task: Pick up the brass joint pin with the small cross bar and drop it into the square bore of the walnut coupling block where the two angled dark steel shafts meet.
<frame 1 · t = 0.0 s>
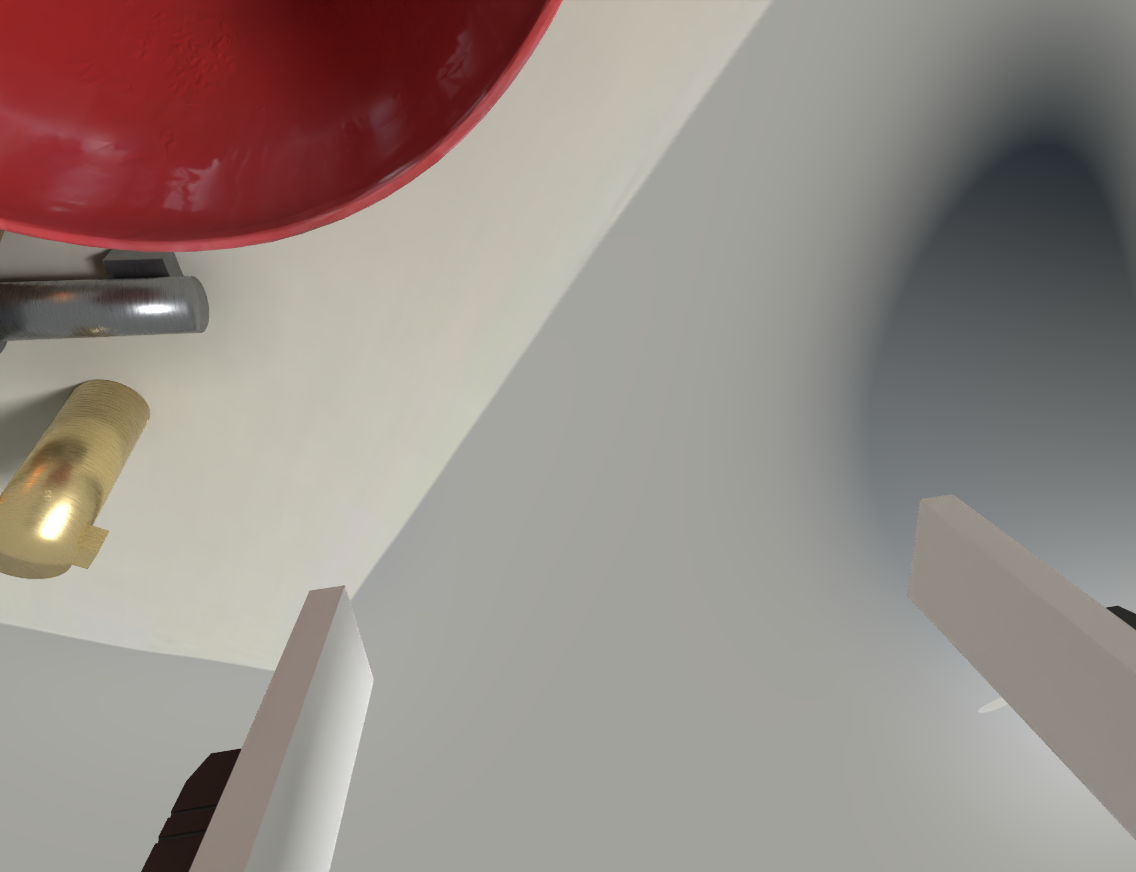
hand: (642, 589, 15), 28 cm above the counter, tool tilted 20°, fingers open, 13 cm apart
joint pin: (111, 406, 42), on the counter
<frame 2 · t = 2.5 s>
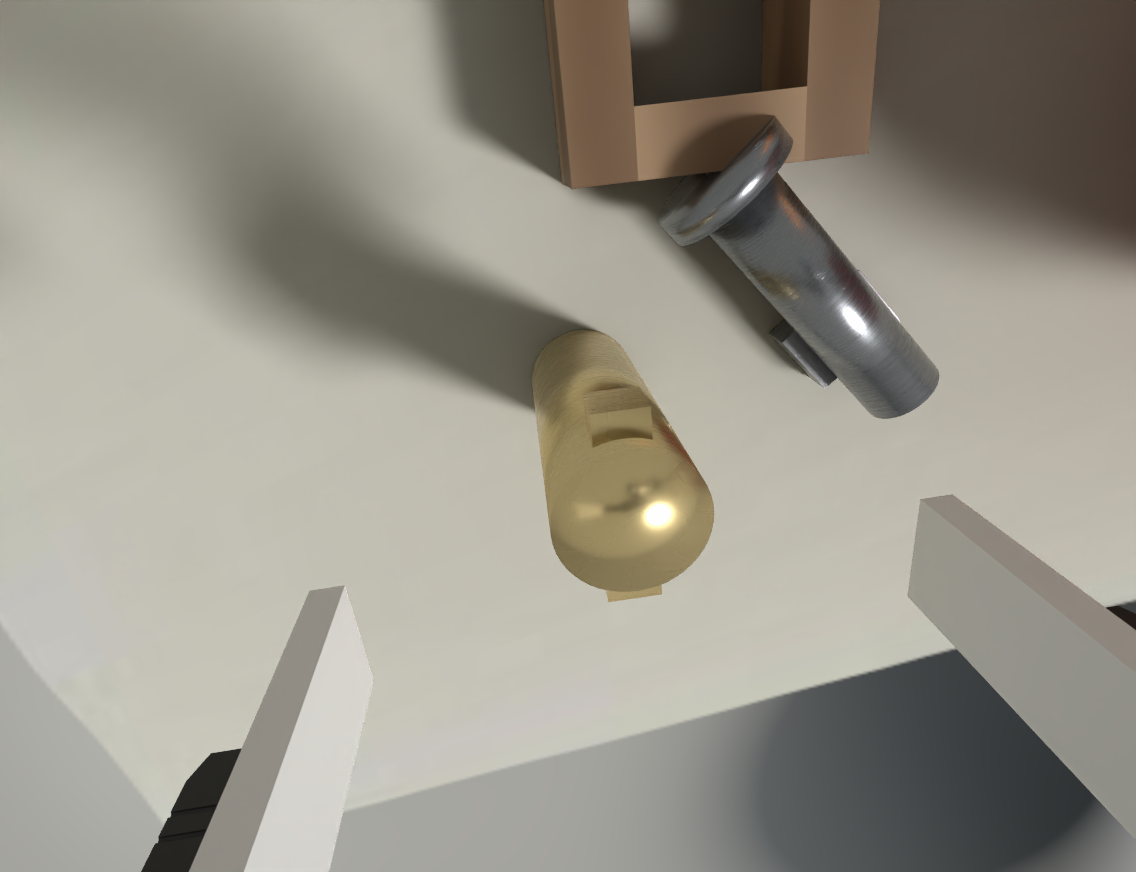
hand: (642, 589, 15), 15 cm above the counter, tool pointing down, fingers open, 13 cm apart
coupling block: (685, 17, 23), on the counter
joint pin: (582, 379, 28), on the counter
shaft b: (689, 168, 25), on the counter
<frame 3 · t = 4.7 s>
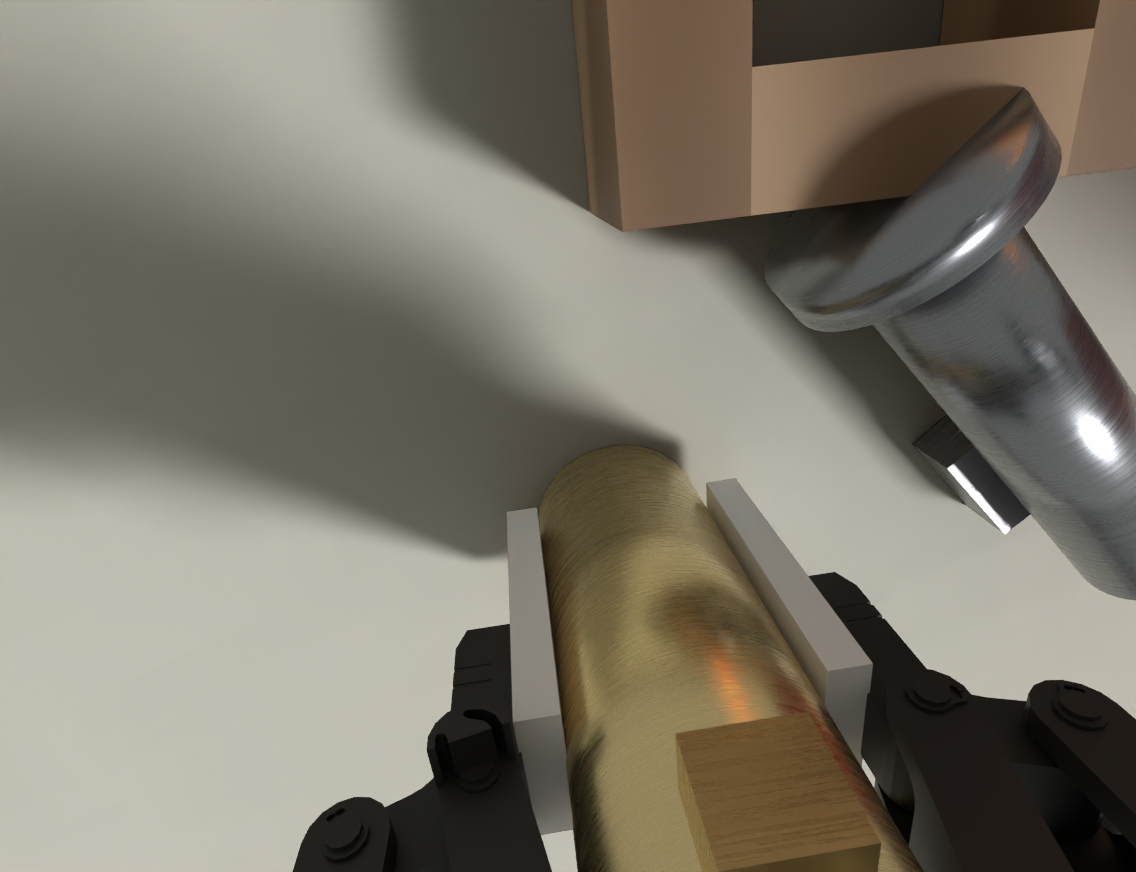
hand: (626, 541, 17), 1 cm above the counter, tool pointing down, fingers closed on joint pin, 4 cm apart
joint pin: (618, 518, 18), on the counter, touching gripper
shaft b: (807, 186, 15), on the counter
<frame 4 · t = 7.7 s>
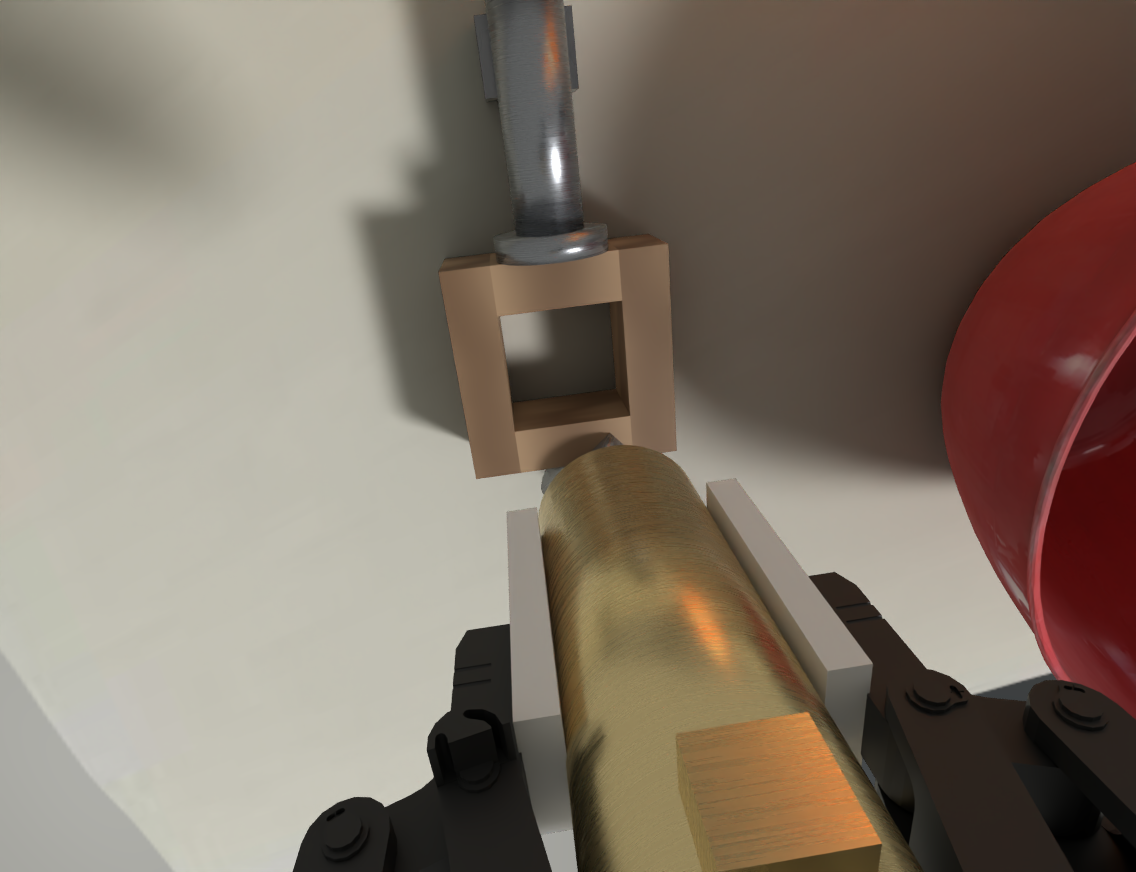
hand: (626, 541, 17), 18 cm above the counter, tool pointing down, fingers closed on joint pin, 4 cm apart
coupling block: (558, 345, 33), on the counter
shaft a: (547, 246, 31), on the counter
joint pin: (618, 518, 18), point 17 cm above the counter, touching gripper
shaft b: (568, 433, 35), on the counter
mixing bowl: (1068, 345, 37), on the counter
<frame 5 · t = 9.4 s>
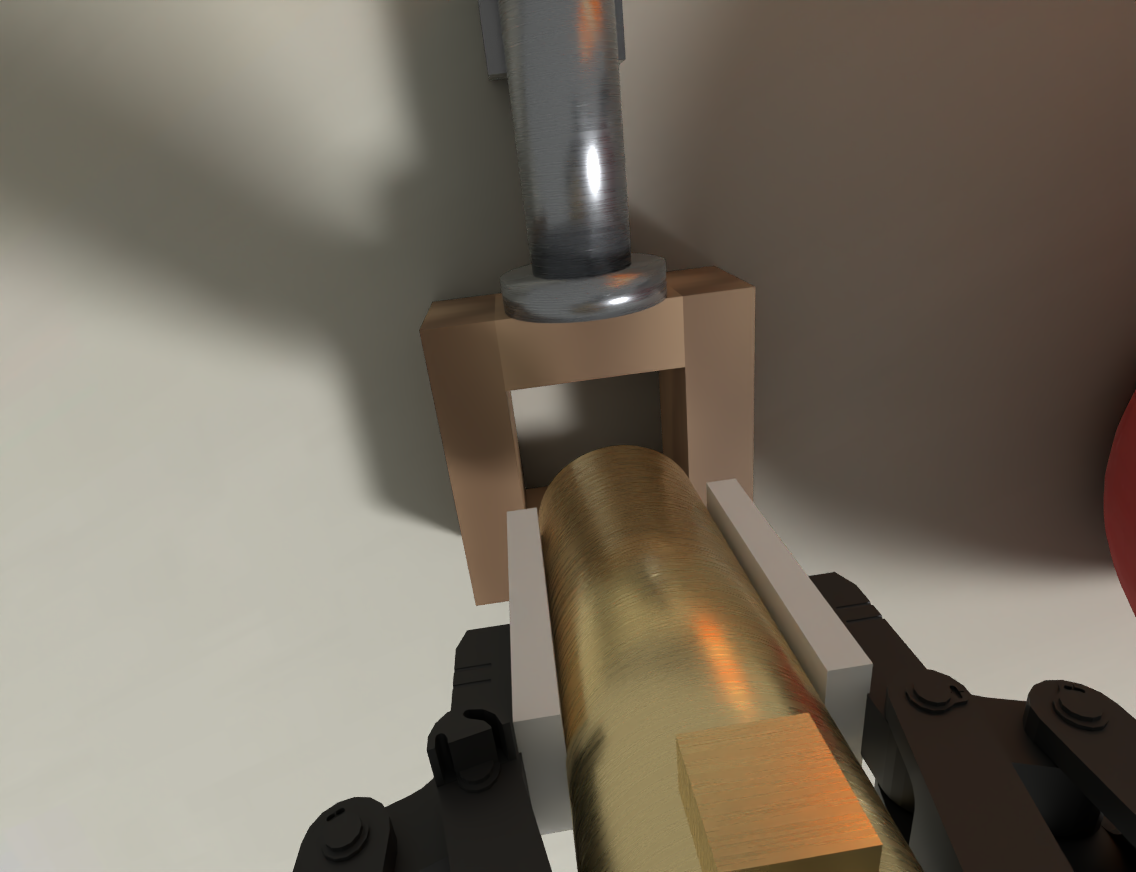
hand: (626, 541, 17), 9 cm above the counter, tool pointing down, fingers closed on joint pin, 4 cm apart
coupling block: (588, 414, 25), on the counter
shaft a: (574, 283, 23), on the counter
joint pin: (618, 518, 18), point 8 cm above the counter, touching gripper
when the fingers open (6 cm above the counter, at t = 10.7 s): joint pin drops 3 cm, resting in coupling block.
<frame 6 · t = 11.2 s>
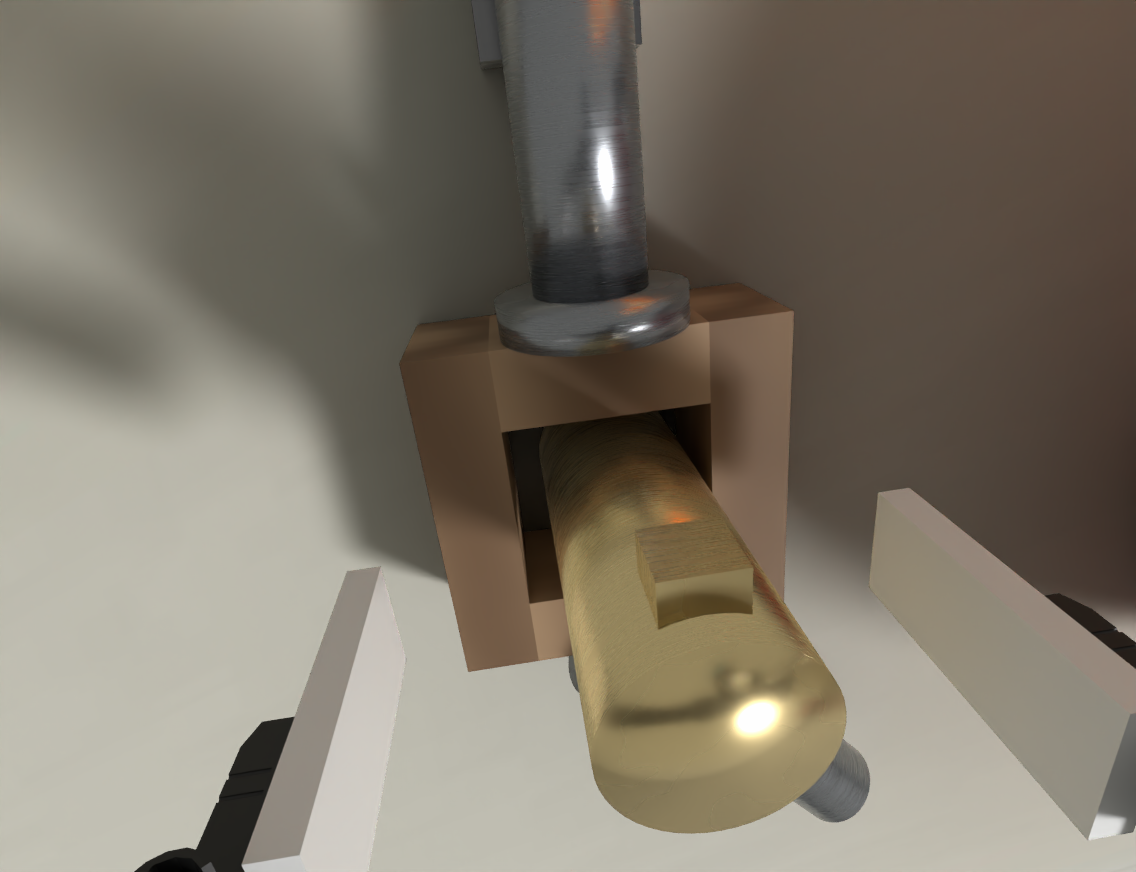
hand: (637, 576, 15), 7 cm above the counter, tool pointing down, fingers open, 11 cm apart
coupling block: (595, 450, 22), on the counter
shaft a: (580, 303, 20), on the counter
joint pin: (604, 448, 22), resting in coupling block
shaft b: (607, 571, 24), on the counter
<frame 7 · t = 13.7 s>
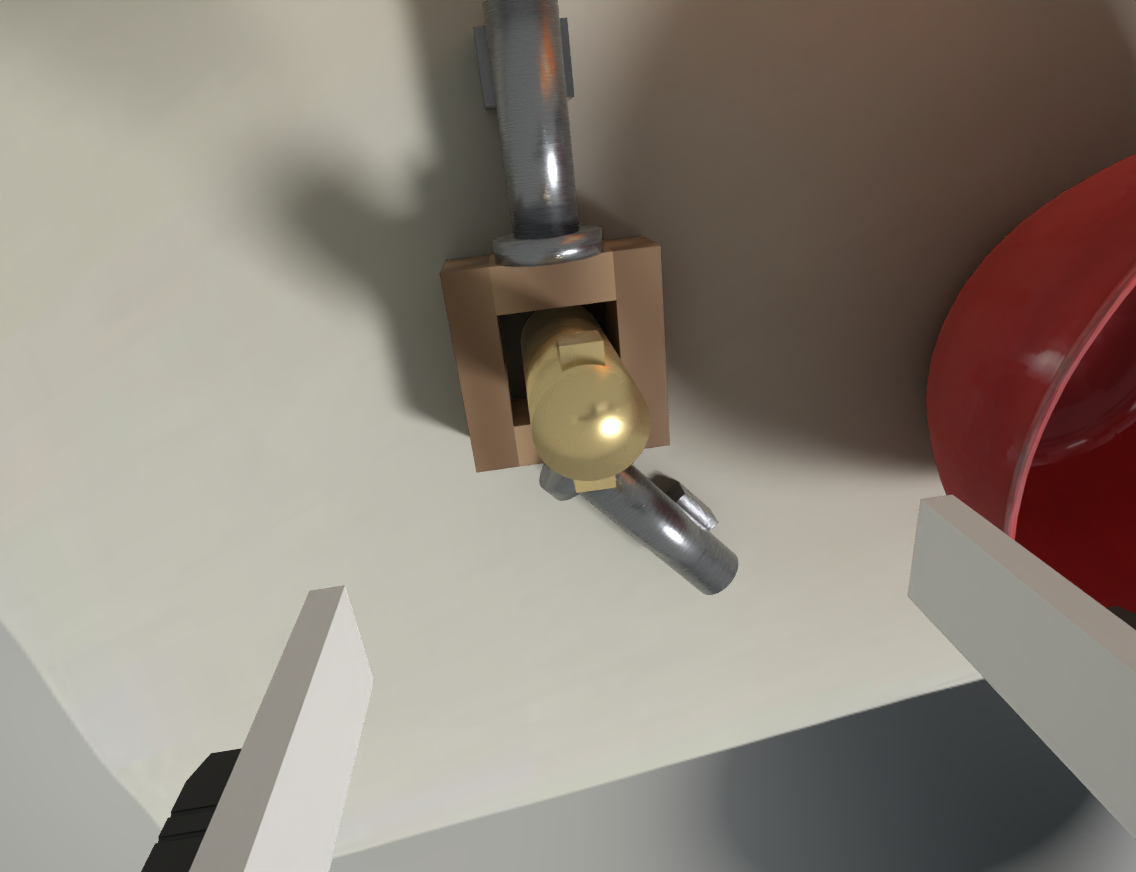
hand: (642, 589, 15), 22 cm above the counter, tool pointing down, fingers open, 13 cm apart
coupling block: (556, 343, 35), on the counter
shaft a: (544, 247, 33), on the counter
joint pin: (561, 342, 35), resting in coupling block
shaft b: (566, 428, 37), on the counter
mixing bowl: (1051, 343, 38), on the counter
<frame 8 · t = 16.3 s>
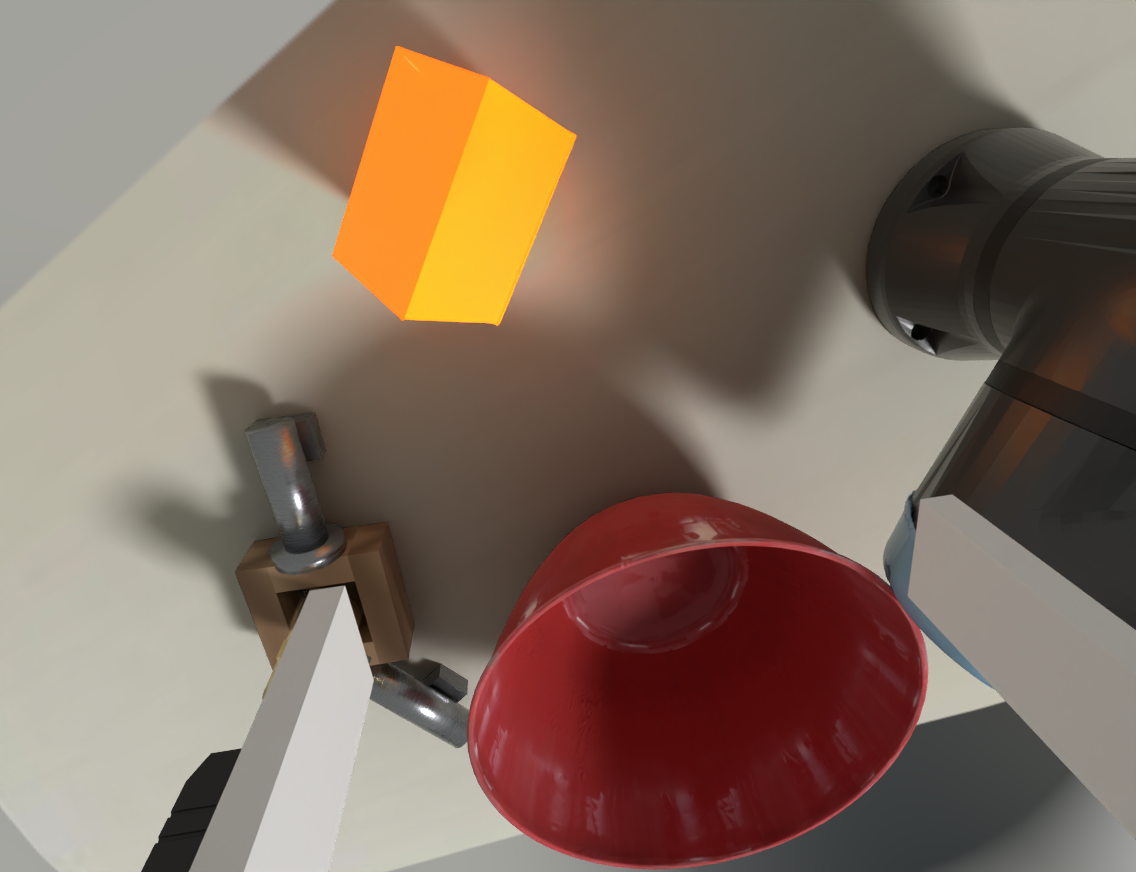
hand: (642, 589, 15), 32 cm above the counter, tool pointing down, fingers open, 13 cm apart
coupling block: (337, 584, 51), on the counter
shaft a: (321, 531, 49), on the counter
orange juice: (466, 184, 40), on the counter
joint pin: (341, 584, 51), resting in coupling block
shaft b: (353, 634, 53), on the counter
mixing bowl: (651, 575, 53), on the counter, touching arm
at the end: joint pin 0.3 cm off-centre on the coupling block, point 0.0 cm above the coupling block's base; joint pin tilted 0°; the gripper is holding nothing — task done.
